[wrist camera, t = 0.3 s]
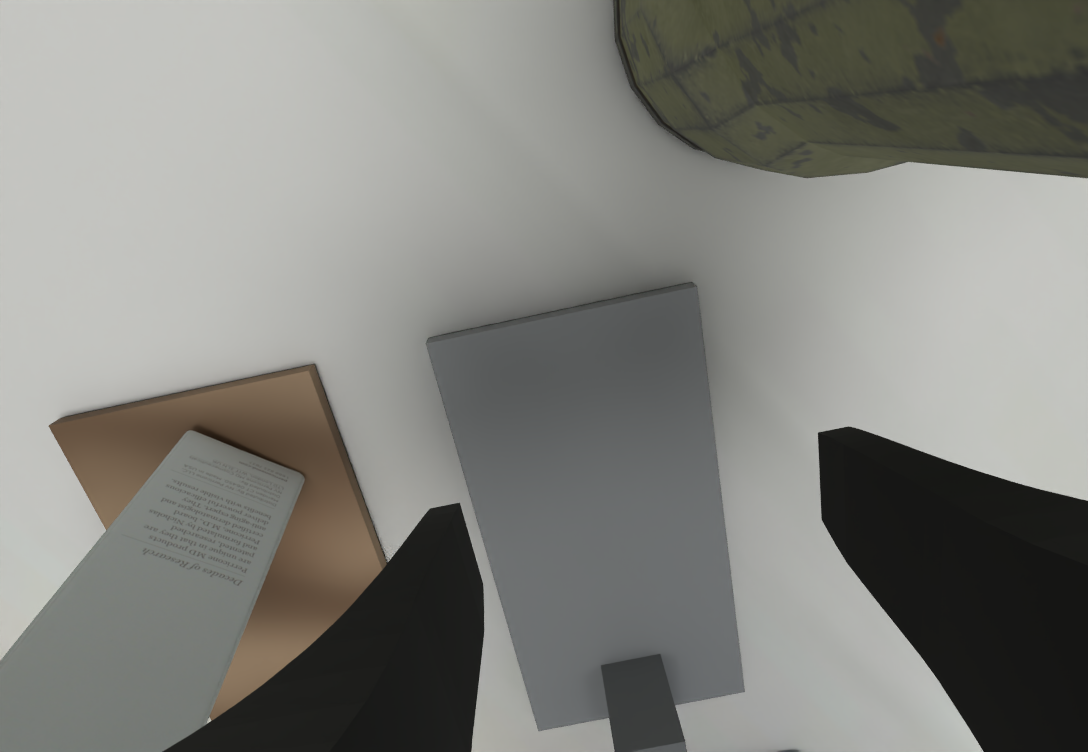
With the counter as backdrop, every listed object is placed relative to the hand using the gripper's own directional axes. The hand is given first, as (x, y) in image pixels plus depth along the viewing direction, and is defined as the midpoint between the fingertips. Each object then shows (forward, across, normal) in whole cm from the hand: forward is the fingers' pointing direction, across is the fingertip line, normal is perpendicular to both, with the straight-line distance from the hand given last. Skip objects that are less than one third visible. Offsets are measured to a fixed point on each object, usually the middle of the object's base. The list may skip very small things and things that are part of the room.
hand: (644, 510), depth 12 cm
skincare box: (+9, +14, +3) cm, 17 cm away
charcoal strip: (+10, +1, +7) cm, 12 cm away
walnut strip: (+10, +14, +8) cm, 18 cm away
